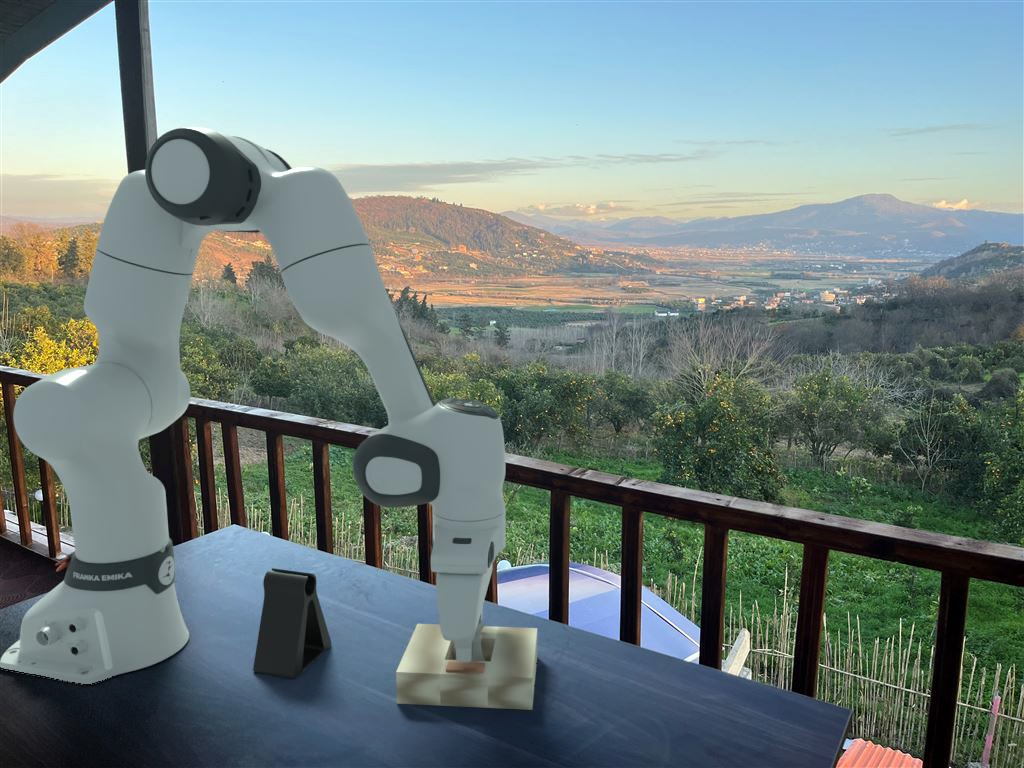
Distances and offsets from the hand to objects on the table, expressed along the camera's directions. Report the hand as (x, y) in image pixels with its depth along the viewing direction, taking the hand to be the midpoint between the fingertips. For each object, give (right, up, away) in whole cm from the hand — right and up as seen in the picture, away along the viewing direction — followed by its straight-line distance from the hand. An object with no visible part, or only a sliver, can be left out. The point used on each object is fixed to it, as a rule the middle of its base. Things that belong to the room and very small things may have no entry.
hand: (470, 639), depth 90 cm
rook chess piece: (0, -5, +1) cm, 6 cm away
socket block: (0, -5, +1) cm, 5 cm away
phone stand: (-24, -5, +6) cm, 25 cm away
